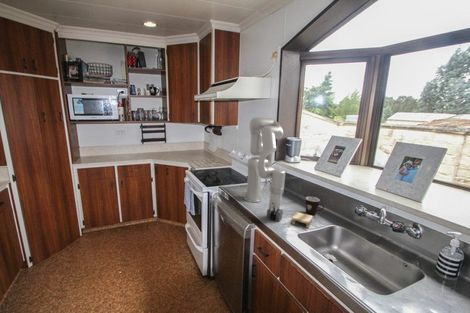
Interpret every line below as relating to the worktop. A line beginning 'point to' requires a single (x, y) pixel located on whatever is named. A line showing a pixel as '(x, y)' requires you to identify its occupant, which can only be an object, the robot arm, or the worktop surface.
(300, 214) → the stand
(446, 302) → the worktop surface
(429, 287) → the worktop surface
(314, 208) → the coffee mug
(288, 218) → the worktop surface
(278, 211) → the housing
